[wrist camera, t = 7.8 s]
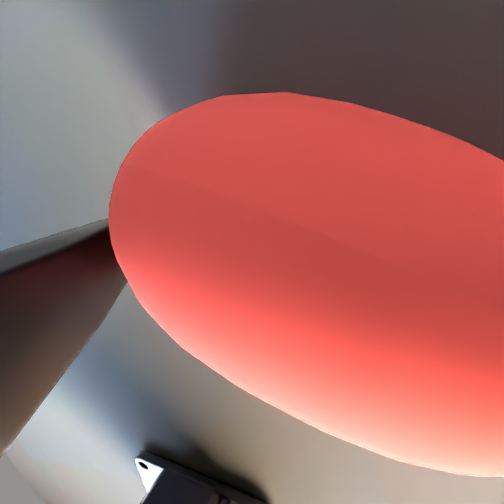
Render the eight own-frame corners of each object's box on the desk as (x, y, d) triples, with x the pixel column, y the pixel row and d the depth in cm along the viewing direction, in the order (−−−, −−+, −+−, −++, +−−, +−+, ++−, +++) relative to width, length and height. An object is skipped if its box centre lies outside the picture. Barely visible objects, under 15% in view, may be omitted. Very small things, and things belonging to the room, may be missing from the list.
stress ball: (331, -85, 9) (-14, 53, 6) (909, 276, 5) (564, 815, 3) (299, 128, 13) (90, 249, 11) (595, 397, 10) (370, 647, 8)
